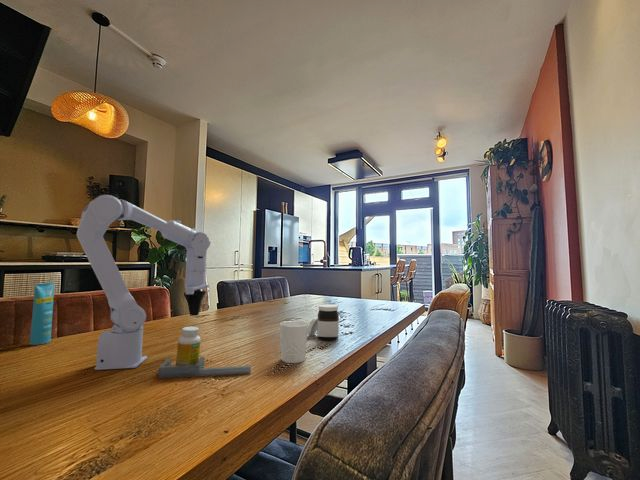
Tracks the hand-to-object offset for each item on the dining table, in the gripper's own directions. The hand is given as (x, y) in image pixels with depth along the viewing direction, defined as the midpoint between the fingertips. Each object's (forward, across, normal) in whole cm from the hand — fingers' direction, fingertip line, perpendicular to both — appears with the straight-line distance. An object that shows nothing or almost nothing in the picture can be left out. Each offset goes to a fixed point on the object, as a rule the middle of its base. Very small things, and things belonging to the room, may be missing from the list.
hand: (194, 315), depth 91 cm
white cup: (+11, -12, -30) cm, 34 cm away
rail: (+10, -18, -8) cm, 22 cm away
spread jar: (+11, +9, -42) cm, 44 cm away
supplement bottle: (+10, -14, -2) cm, 18 cm away
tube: (+11, +13, +49) cm, 52 cm away
